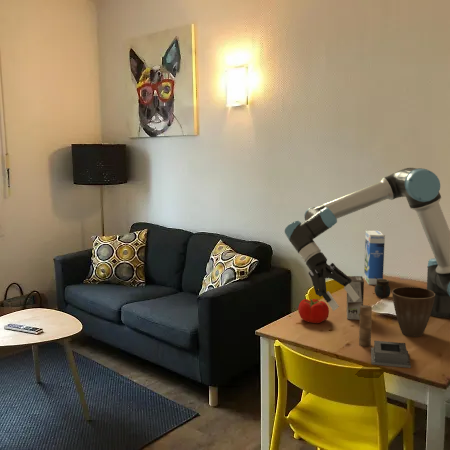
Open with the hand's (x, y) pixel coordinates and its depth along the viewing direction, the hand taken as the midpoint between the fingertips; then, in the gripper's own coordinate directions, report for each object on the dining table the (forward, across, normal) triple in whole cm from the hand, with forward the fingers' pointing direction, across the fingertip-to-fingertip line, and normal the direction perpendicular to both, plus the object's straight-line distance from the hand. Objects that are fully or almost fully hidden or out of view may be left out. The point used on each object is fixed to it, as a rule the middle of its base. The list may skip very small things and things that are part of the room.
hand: (347, 304), depth 178 cm
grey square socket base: (+23, +4, +4) cm, 24 cm away
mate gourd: (-2, -57, -21) cm, 61 cm away
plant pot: (+20, -22, 0) cm, 30 cm away
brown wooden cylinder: (+15, -1, -4) cm, 15 cm away
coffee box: (+2, -25, -18) cm, 31 cm away
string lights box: (-13, -78, -33) cm, 86 cm away
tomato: (-5, -9, -24) cm, 27 cm away
